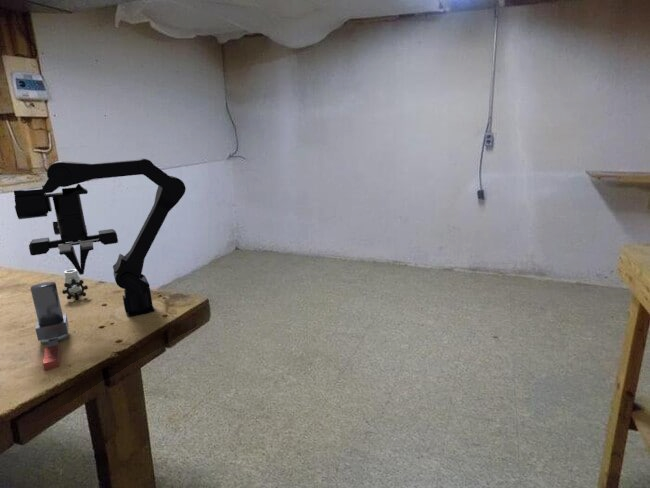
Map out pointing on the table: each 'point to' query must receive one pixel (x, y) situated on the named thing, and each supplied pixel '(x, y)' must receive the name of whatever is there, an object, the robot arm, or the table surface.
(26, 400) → the table surface
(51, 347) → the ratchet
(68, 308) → the table surface
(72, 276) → the valve
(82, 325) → the table surface
